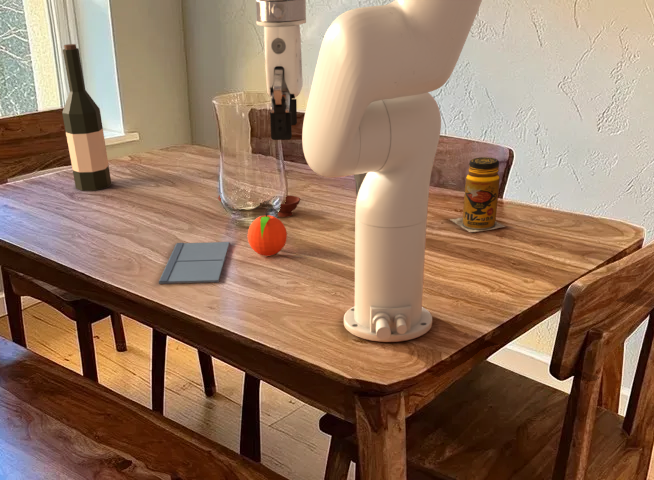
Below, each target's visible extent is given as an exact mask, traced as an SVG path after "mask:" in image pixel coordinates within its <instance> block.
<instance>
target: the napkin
mask: <svg viewBox="0 0 654 480" xmlns="http://www.w3.org/2000/svg"><path fill="white" fill-rule="evenodd" d="M230 244H231V243H230V241H218V242H217V241H214V242H212V241H211V242H177V243H175V246H174V247H173V250H172V252H171V254H170V255H169V259H168V261H167V263H166V264H165V267H164V269H163V271H162V274H161V276H160V278H159V280H158V284H159V285H165V284H169V285H170V284H201V283H202V284H203V283H207V284H208V283H219V282H220V279H221V275H222V272H223V268H224V264H225V262H226V258H227V254H228V251H229V247H230Z"/></svg>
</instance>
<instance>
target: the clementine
mask: <svg viewBox="0 0 654 480" xmlns="http://www.w3.org/2000/svg"><path fill="white" fill-rule="evenodd" d="M286 228H287V227H286V226H285V224H284V222H282V221H281V219H279V218H277V216H274V215H270V214H269V215H267V214H266V215H260V216H258V217H257V218H255V219H254V220H253V221H252V222H251V224H250V225H249V228H248V230H247V242H248V244H249V246H250V248H251V250H253V251H254V252H255V253H257V254H258V255H260V256H265V257H271V256H274V255H277V254H278V253H280V252H281V251H282V250H283V249H284V247H285V245H286V243H287V236H288V233H287V229H286Z"/></svg>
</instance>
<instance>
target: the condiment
mask: <svg viewBox="0 0 654 480" xmlns="http://www.w3.org/2000/svg"><path fill="white" fill-rule="evenodd" d="M467 171H468V174H467V175H466V177H465V186H464V195H463V198H464V199H463V201H462V202H463V208H462V217H457V218H449V221H450V222H452V223H454V224H455V225H457V226H458V227H461V228H462V229H463V230H465V231H467V232H469V233H476V232H477V233H478V232H483V231H490V230H497V229H499V228H500V229H501V228H506V225H503V224H501V223H500V222H497V221H496V220H497V213H498V201H499V191H500V180H501V177H500V174H499V171H500V161H499V160H498V159H497V158H495V157H487V156H483V157H482V156H480V157H474V158H472V159H470V160H469V168H468V170H467Z"/></svg>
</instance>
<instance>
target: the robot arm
mask: <svg viewBox="0 0 654 480" xmlns="http://www.w3.org/2000/svg"><path fill="white" fill-rule="evenodd" d="M482 1H483V0H393V1H390V2H389V3H388V4H383V5H371V6H361V7H356V8H352V9H349V10H346V11H344V12H343V13H341V14H339V15H338V16H337V17H336V18H335V19H334V20H333V21H332V22H331V24H330V25H329V27H328V28H327V30H326V31H325V33H324V36H323V39H322V41H321V45H320V48H319V53H318V56H317V62H316V65H315V69H314V73H313V78H312V83H311V87H310V90H309V95H308V99H307V103H306V108H305V111H304V116H303V124H302V133H301V140H302V141H301V143H302V152H303V155H304V158H305V161H306V164H307V165H308V166H309V168H310V169H311V170H312V171H313V172H314V173H315V174H317V175H318V176H320V177H323V178H330V179H334V178H336V179H337V178H344V177H351V176H354V175H356V174H362V173H367V174H366V176H365V178H364V180H363V182H362V184H361V187H360V189H359V192H358V196H356V200H355V208H354V209H355V212H354V213H355V215H354V216H355V217H354V225H355V226H354V305H353V306H352V307H350V308H348V309H347V310H346V312H345V313H344V315H343V325H344V326H343V327H344V328H345V329H346V331H348V332H349V333H350V334H351V335H353V336H355V337H358V338H360V339H364V340H367V341H373V342H381V343H395V342H396V343H397V342H406V341H409V340H414V339H416V338H419V337H422V336H424V335H425V334H427V333H428V332H429V331H430V330H431V328H432V326H433V316H432V313H431V312H430V311H429V309H427V308H425V306H423V293H424V276H425V257H426V242H427V241H426V240H427V225H428V223H427V222H428V214H429V213H428V211H429V197H430V188H431V187H430V186H431V178H432V172H433V167H434V162H435V159H436V154H437V150H438V147H439V146H438V145H439V142H440V138H441V137H440V136H441V131H442V130H441V129H442V117H441V116H442V115H441V111H440V108H439V107H440V106H439V105H438V103H437V101H436V98H435V97H434V96H433V95H432V94H431V93H432V92H434V91H436V90H439V89H441V88H442V87H443V86H444V85H445V84H446V83H447V82H448V81H449V79H450V78H451V75H452V74H453V72H454V70H455V68H456V65H457V63H458V61H459V59H460V56H461V53H462V52H463V49H464V46H465V44H466V41H467V38H468V36H469V33H470V31H471V29H472V27H473V24H474V22H475V19H476V16H477V14H478V12H479V9H480V7H481V5H482ZM255 17H256V18H255V21H256V23H255V25H257V26H259V27H263V37H264V63H265V64H264V65H265V80H266V81H265V82H266V90H267V92H266V93H267V95H268V96H269V97H270V113H269V117H270V120H269V121H270V138H271V140H272V141H289V140H291V139H292V137H293V131H292V128H293V127H292V126H296V125H297V124H298V110H297V109H298V107H297V102H298V101H297V97H298V96H299V95H300V94H301V91H302V89H303V85H304V83H303V62H302V61H303V60H302V59H303V58H302V38H301V37H302V35H301V27H300V26H301V25H303V24H306V23H307V0H255Z"/></svg>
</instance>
